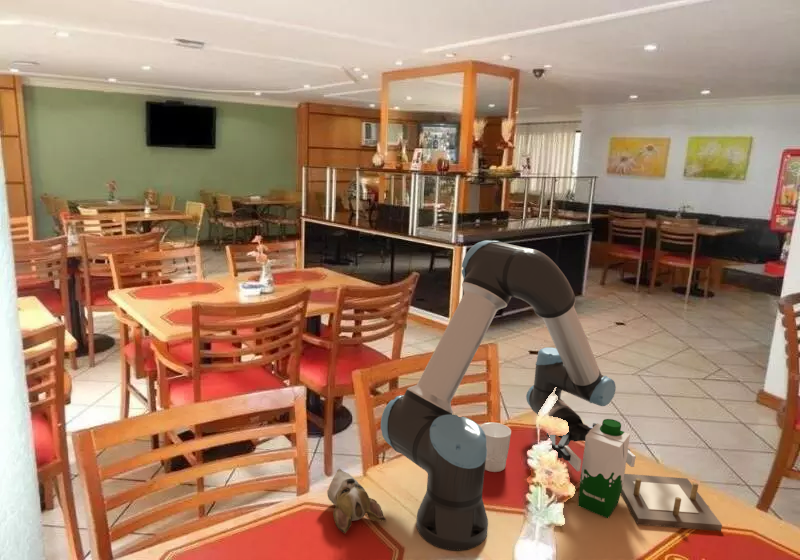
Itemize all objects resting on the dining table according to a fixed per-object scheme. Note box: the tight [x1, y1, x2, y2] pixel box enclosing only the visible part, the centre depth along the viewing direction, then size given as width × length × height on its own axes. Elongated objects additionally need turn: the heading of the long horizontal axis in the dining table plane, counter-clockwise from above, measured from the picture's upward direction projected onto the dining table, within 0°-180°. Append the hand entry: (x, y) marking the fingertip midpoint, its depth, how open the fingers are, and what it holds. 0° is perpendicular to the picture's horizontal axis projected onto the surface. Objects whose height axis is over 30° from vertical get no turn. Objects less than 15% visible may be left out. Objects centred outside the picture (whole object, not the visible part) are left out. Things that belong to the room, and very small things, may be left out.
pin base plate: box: [621, 473, 723, 532], centre depth 134 cm, size 18×18×6 cm
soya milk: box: [577, 418, 631, 519], centre depth 130 cm, size 9×9×20 cm
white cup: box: [479, 421, 512, 473], centre depth 146 cm, size 8×8×10 cm
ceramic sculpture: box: [327, 468, 387, 534], centre depth 124 cm, size 11×9×15 cm
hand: (606, 463), depth 130 cm, fingers open, 13 cm apart
